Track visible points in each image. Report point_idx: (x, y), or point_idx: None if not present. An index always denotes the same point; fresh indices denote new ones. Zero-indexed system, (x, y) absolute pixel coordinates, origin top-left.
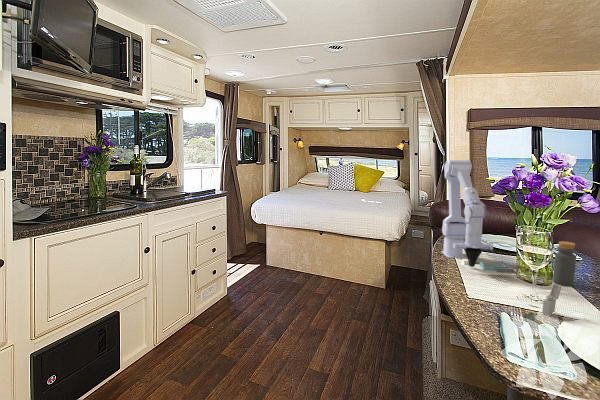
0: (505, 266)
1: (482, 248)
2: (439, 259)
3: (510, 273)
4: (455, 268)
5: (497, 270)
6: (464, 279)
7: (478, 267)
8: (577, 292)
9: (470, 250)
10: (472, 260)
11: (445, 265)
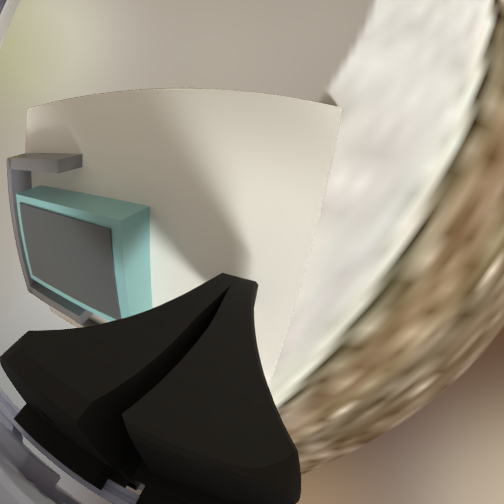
0: (18, 199)
1: (6, 405)
2: (342, 448)
3: (36, 138)
4: (379, 325)
5: (70, 160)
6: (469, 44)
7: (170, 285)
8: (5, 2)
9: (197, 490)
10: (223, 317)
11: (398, 384)
